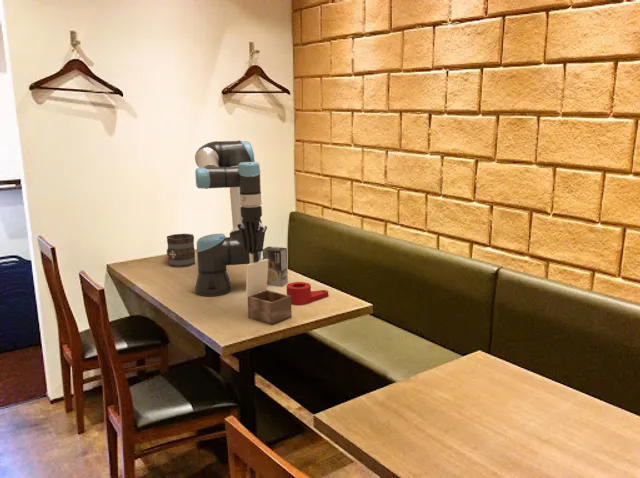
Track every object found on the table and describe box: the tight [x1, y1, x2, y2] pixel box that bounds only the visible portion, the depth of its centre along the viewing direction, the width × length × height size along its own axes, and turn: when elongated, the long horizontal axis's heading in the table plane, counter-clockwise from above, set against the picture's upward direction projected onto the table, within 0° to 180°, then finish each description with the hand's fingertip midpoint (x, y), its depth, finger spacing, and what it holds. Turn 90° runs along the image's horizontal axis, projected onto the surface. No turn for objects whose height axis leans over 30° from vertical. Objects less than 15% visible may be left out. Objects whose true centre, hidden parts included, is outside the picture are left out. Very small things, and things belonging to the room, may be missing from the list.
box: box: [247, 289, 293, 326], centre depth 204 cm, size 12×10×8 cm
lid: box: [245, 259, 268, 298], centre depth 205 cm, size 12×10×1 cm
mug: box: [166, 233, 196, 269], centre depth 276 cm, size 20×14×15 cm
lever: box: [286, 281, 329, 306], centre depth 224 cm, size 18×9×7 cm, turn 121°
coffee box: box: [262, 246, 289, 288], centre depth 243 cm, size 9×6×16 cm
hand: (254, 270), depth 205 cm, fingers closed
